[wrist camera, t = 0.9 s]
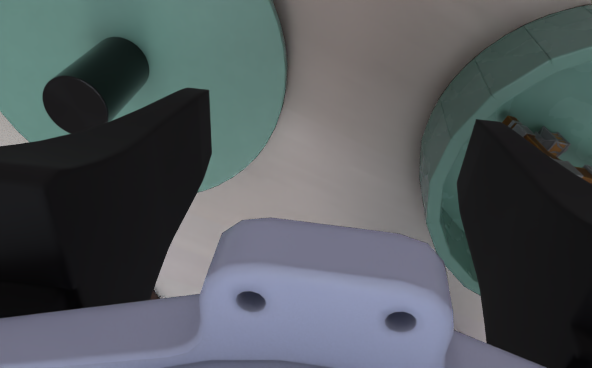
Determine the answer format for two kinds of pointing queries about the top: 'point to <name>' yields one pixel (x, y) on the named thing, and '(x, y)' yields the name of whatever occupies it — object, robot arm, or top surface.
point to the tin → (507, 102)
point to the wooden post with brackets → (549, 145)
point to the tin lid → (144, 67)
